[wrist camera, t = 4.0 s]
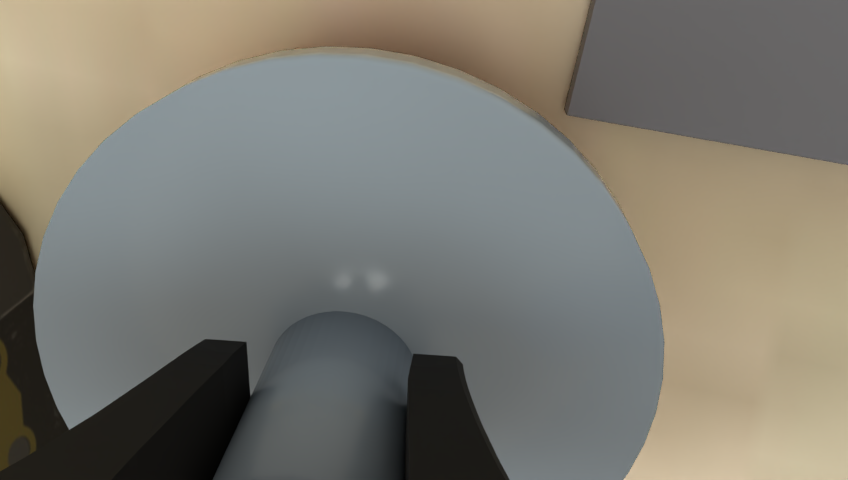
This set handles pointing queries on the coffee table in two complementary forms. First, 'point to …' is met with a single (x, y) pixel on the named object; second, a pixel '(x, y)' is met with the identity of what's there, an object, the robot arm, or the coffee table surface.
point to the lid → (356, 267)
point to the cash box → (21, 356)
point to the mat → (720, 71)
